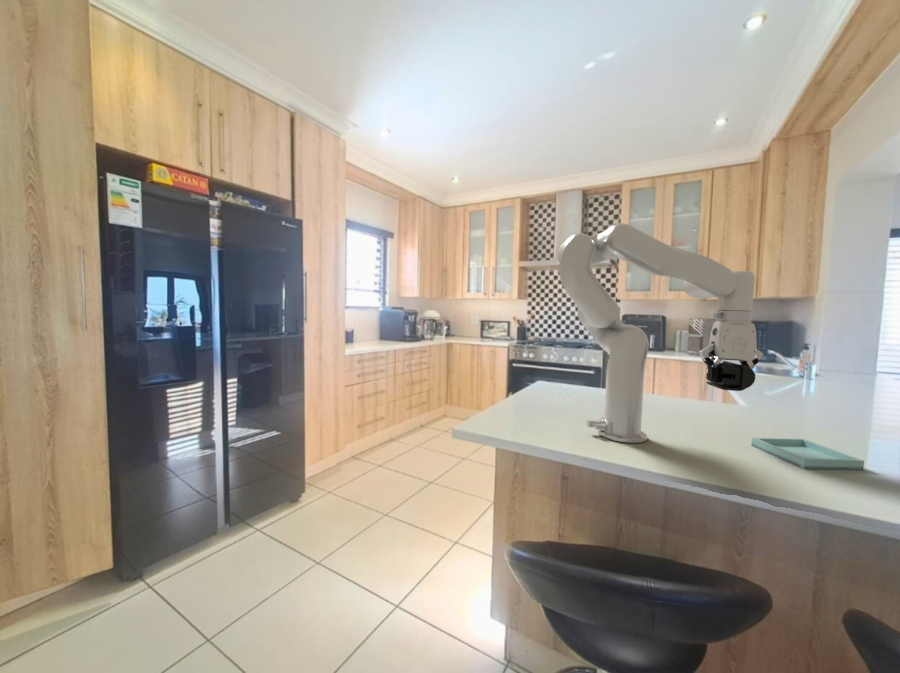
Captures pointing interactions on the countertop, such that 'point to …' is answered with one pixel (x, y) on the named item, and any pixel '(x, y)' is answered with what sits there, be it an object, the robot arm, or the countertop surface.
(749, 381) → the end cap
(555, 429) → the countertop surface
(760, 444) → the tray
